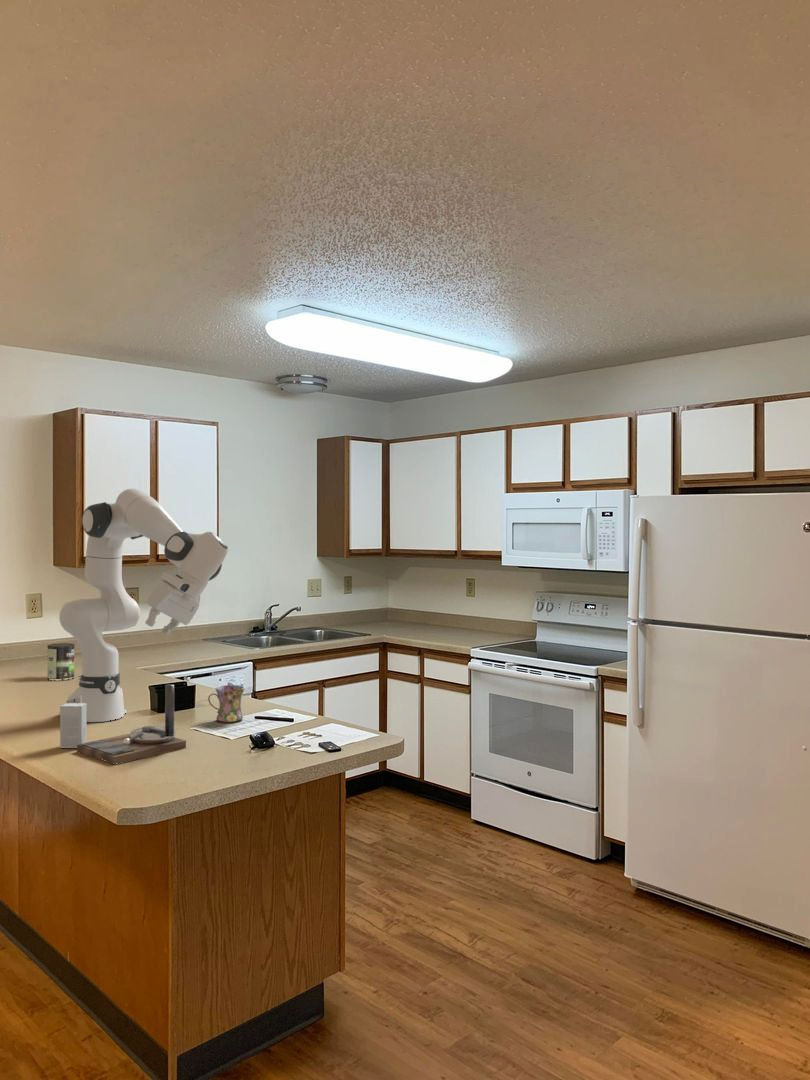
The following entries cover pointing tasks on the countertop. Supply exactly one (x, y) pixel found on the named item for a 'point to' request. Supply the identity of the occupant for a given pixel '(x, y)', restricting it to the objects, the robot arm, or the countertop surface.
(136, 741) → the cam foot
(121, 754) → the stand
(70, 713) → the skincare box
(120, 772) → the countertop surface
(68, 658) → the coffee can
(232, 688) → the mug
